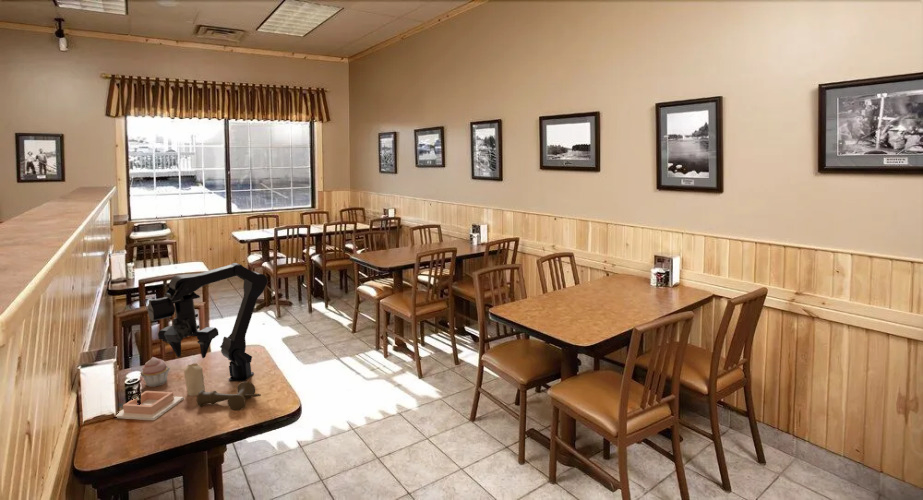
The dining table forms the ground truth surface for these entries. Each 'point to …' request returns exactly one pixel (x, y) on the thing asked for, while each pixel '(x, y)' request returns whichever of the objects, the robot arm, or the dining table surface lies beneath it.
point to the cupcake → (155, 372)
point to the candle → (194, 379)
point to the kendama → (229, 396)
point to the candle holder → (149, 405)
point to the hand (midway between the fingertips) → (191, 357)
